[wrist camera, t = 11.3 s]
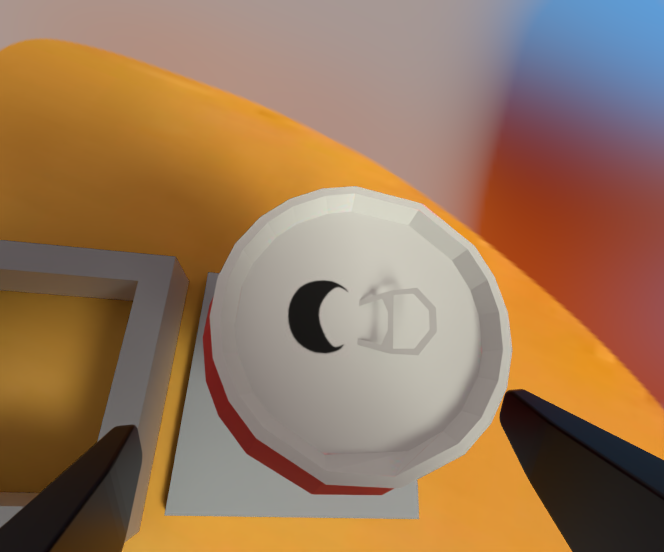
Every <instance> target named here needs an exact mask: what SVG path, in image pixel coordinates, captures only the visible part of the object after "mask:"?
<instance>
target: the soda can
mask: <svg viewBox="0 0 664 552" xmlns="http://www.w3.org/2000/svg"><path fill="white" fill-rule="evenodd" d="M203 350H204V364H205V378H206V383H207V386H208V389H209V391H210V394H211V397H212V400H213V402H214V405H215V408H216V411H217V413H218V416H219V417H220V419H221V420H222V421H223V423H224V424H225V425H226V427H227V428H228V429H229V431H230V432H231V434H232V435H233V436H234V438H235V439H236V440H237V442H238V443H239V444H240V446H241V447H242V449H243V450H244V451H245V453H246V454H247V455H249V456H251V457H252V458H254V459H255V460H257V461H259V462H260V463H262V464H264V465H265V466H267V467H268V468H270V469H272V470H273V471H275V472H276V473H278V474H280V475H281V476H283V477H285V478H286V479H288V480H289V481H291V482H293V483H294V484H296V485H297V486H299V487H301V488H302V489H304V490H306V491H307V492H309V493H310V494H314V495H383V494H385V493H387V492H389V491H391V490H393V489H395V488H398V489H400V488H402V487H404V486H406V485H408V484H410V483H412V482H413V481H415V480H417V479H419V478H421V477H423V476H425V475H427V474H429V473H430V472H432V471H434V470H436V469H438V468H440V467H442V466H444V465H446V464H447V463H449V462H451V461H453V460H455V459H457V458H459V457H461V456H462V455H464V454H465V453H466V452H467V451H468V450H469V449H470V447H471V446H472V445H473V444H474V443H475V442H476V440H477V439H478V438H479V437H480V436H481V435H482V433H483V432H484V431H485V430H486V429H487V428H488V426H489V425H490V424H491V422H492V420H493V418H494V416H495V413H496V411H497V409H498V407H499V404H500V402H501V400H502V397H503V395H504V393H505V391H506V388H507V384H508V377H509V370H510V363H511V356H512V344H511V335H510V326H509V318H508V312H507V309H506V306H505V304H504V301H503V298H502V296H501V293H500V290H499V287H498V285H497V282H496V279H495V277H494V275H493V274H492V272H491V270H490V269H489V267H488V266H487V264H486V263H485V261H484V260H483V258H482V257H481V255H480V254H479V252H478V250H477V249H476V247H475V246H474V245H473V244H471V243H470V242H469V241H468V240H466V239H465V238H464V237H463V236H462V235H460V234H459V233H458V232H457V231H455V230H454V229H453V228H452V227H451V226H449V225H448V224H447V223H446V222H444V221H443V220H442V219H441V218H440V217H438V216H437V215H436V214H435V213H433V212H432V211H431V210H430V209H429V208H427V207H426V206H425V205H424V204H421V203H417V202H414V201H410V200H406V199H402V198H398V197H395V196H391V195H387V194H383V193H379V192H376V191H372V190H368V189H364V188H360V187H357V186H353V187H339V188H325V189H320V190H316V191H313V192H310V193H307V194H304V195H301V196H298V197H294V198H291V199H289V200H287V201H285V202H284V203H282V204H281V205H279V206H277V207H276V208H274V209H273V210H271V211H269V212H268V213H266V214H265V215H263V216H261V217H260V218H259V219H258V220H257V221H256V222H255V223H254V224H253V225H252V226H251V227H250V228H249V230H248V231H247V232H246V233H245V234H244V235H243V236H242V237H241V238H240V239H239V240H238V241H237V242H236V243H235V245H234V247H233V249H232V251H231V253H230V255H229V256H228V258H227V260H226V262H225V264H224V266H223V268H222V270H221V272H220V274H219V275H218V278H217V283H216V288H215V293H214V296H213V299H212V301H211V303H210V305H209V310H208V314H207V319H206V324H205V329H204V333H203Z"/></svg>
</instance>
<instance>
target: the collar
mask: <svg viewBox="0 0 664 552" xmlns="http://www.w3.org/2000/svg"><path fill="white" fill-rule="evenodd" d="M188 284H189V280H188V279H187V277H186V275H185V273H184V271H183V269H182V267H181V266H180V264H179V262H178V260H177V258H176V257H174V256H164V255H153V254H142V253H132V252H121V251H111V250H100V249H90V248H79V247H69V246H58V245H47V244H37V243H26V242H16V241H5V240H0V290H3V291H16V292H28V293H41V294H53V295H66V296H78V297H91V298H103V299H116V300H128V301H133V304H132V308H131V312H130V316H129V320H128V324H127V328H126V331H125V335H124V339H123V343H122V347H121V351H120V355H119V359H118V363H117V367H116V371H115V374H114V378H113V382H112V386H111V390H110V394H109V398H108V402H107V406H106V410H105V414H104V417H103V421H102V425H101V429H100V433H99V437H98V441H99V440H100V439H101V438H102V437H103V436H104V435H106V434H107V433H108V432H109V431H110V430H111V429H112V428H114V427H116V426H120V425H131V424H133V425H136V427H137V428H138V433H139V438H140V443H141V448H142V454H143V457H142V465H141V470H140V475H139V479H138V484H137V489H136V493H135V498H134V503H133V508H132V512H131V517H130V522H129V526H128V530H127V535H126V538H125V542H126V541H127V540H128V539H130V538H131V537H132V536H134V535H135V534H136V533H138V532H139V529H140V524H141V519H142V514H143V509H144V504H145V499H146V494H147V489H148V484H149V479H150V474H151V469H152V464H153V459H154V454H155V449H156V444H157V439H158V434H159V429H160V424H161V419H162V414H163V409H164V404H165V399H166V394H167V389H168V384H169V379H170V374H171V369H172V364H173V359H174V354H175V349H176V344H177V339H178V334H179V329H180V324H181V319H182V314H183V309H184V304H185V299H186V294H187V289H188ZM98 441H97V442H98ZM38 494H39V493H23V492H0V528H1V527H2V526H3V525H4V524H5V523H6V522H7V521H8V520H10V519H11V518H12V517H13V516H14V515H15V514H16V513H17V512H19V511H20V510H21V509H22V508H23V507H24V506H25V505H27V504H28V503H29V502H30V501H31V500H32V499H33V498H34V497H36V496H37V495H38Z"/></svg>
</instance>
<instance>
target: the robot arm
mask: <svg viewBox="0 0 664 552" xmlns="http://www.w3.org/2000/svg"><path fill="white" fill-rule="evenodd" d="M500 422H501V425H502V427H503V429H504V431H505V433H506V435H507V437H508V439H509V441H510V443H511V445H512V448H513V450H514V452H515V454H516V456H517V458H518V460H519V462H520V464H521V466H522V468H523V470H524V472H525V474H526V475H527V477H528V479H529V481H530V483H531V485H532V486H533V488H534V490H535V491H536V493H537V495H538V496H539V498H540V500H541V501H542V503H543V504H544V506H545V508H546V509H547V511H548V513H549V514H550V516H551V518H552V519H553V521H554V522H555V524H556V526H557V527H558V529H559V531H560V532H561V534H562V535H563V537H564V539H565V540H566V542H567V544H568V545H569V547H570V549H571V550H572V552H664V460H662V459H660V458H658V457H656V456H654V455H652V454H650V453H648V452H646V451H644V450H642V449H640V448H638V447H636V446H635V445H633V444H631V443H629V442H627V441H625V440H623V439H621V438H619V437H617V436H615V435H613V434H611V433H609V432H607V431H605V430H603V429H601V428H599V427H597V426H595V425H593V424H591V423H589V422H587V421H585V420H583V419H581V418H579V417H577V416H575V415H573V414H571V413H569V412H567V411H565V410H563V409H561V408H559V407H557V406H555V405H553V404H551V403H549V402H547V401H545V400H543V399H541V398H540V397H538V396H536V395H534V394H532V393H530V392H528V391H526V390H523V389H516V390H509V391H507V392H506V393H505V396H504V400H503V403H502V407H501V411H500ZM142 457H143V454H142V448H141V443H140V438H139V433H138V428H137V427H136V425H133V424H131V425H120V426H116V427H114V428H112V429H111V430H110V431H109V432H108V433H107V434H106V435H104V436H103V437H102V438H101V439H100V440H99V441H98V442H97V443H95V444H94V445H93V446H92V447H91V448H90V449H89V450H88V451H86V452H85V453H84V454H83V455H82V456H81V457H80V458H78V459H77V460H76V461H75V462H74V463H73V464H72V465H71V466H69V467H68V468H67V469H66V470H65V471H64V472H63V473H62V474H60V475H59V476H58V477H57V478H56V479H55V480H54V481H53V482H51V483H50V484H49V485H48V486H47V487H46V488H45V489H43V490H42V491H41V492H40V493H39V494H38V495H37V496H36V497H34V498H33V499H32V500H31V501H30V502H29V503H28V504H27V505H25V506H24V507H23V508H22V509H21V510H20V511H19V512H17V513H16V514H15V515H14V516H13V517H12V518H11V519H10V520H8V521H7V522H6V523H5V524H4V525H3V526H2V527H1V528H0V552H122V548H123V545H124V542H125V538H126V535H127V530H128V526H129V522H130V517H131V512H132V508H133V503H134V498H135V493H136V489H137V484H138V479H139V475H140V470H141V465H142Z"/></svg>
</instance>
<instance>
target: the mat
mask: <svg viewBox="0 0 664 552" xmlns="http://www.w3.org/2000/svg"><path fill="white" fill-rule="evenodd" d="M219 274H220V273H211V272H208V277H207V282H206V288H205V293H204V299H203V304H202V310H201V316H200V321H199V327H198V332H197V338H196V343H195V349H194V354H193V360H192V366H191V371H190V377H189V382H188V388H187V393H186V399H185V405H184V410H183V416H182V421H181V427H180V432H179V438H178V443H177V449H176V455H175V460H174V466H173V471H172V477H171V482H170V488H169V493H168V499H167V505H166V510H165V515H175V516H244V517H314V518H384V519H419V506H418V483H417V480H415V481H413V482H412V483H410V484H408V485H406V486H404V487H402V488H400V489H398V488H395V489H393V490H391V491H389V492H387V493H385V494H383V495H314V494H310V493H309V492H307V491H306V490H304V489H302V488H301V487H299V486H297V485H296V484H294V483H293V482H291V481H289V480H288V479H286V478H285V477H283V476H281V475H280V474H278V473H276V472H275V471H273V470H272V469H270V468H268V467H267V466H265V465H264V464H262V463H260V462H259V461H257V460H255V459H254V458H252V457H251V456H249V455H247V454H246V453H245V451H244V450H243V449H242V447H241V446H240V444H239V443H238V442H237V440H236V439H235V438H234V436H233V435H232V434H231V432H230V431H229V429H228V428H227V427H226V425H225V424H224V423H223V421H222V420H221V419H220V417H219V416H218V413H217V411H216V408H215V405H214V402H213V400H212V397H211V394H210V391H209V389H208V386H207V383H206V378H205V364H204V350H203V333H204V329H205V324H206V319H207V314H208V310H209V305H210V303H211V301H212V299H213V296H214V293H215V288H216V283H217V278H218V275H219Z"/></svg>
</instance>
